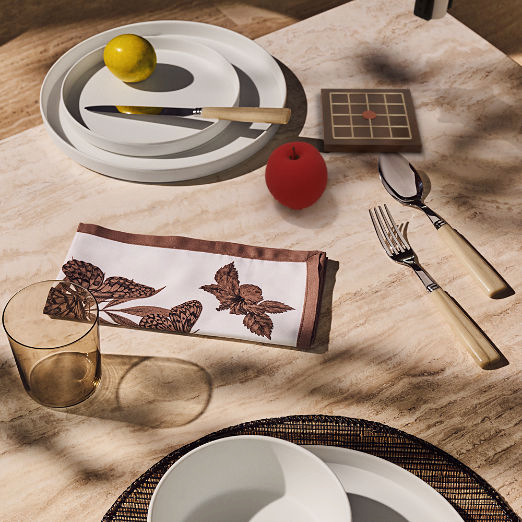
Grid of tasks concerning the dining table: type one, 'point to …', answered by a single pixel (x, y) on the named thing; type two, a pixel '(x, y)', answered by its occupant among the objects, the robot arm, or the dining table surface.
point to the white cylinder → (439, 9)
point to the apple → (296, 175)
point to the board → (369, 121)
